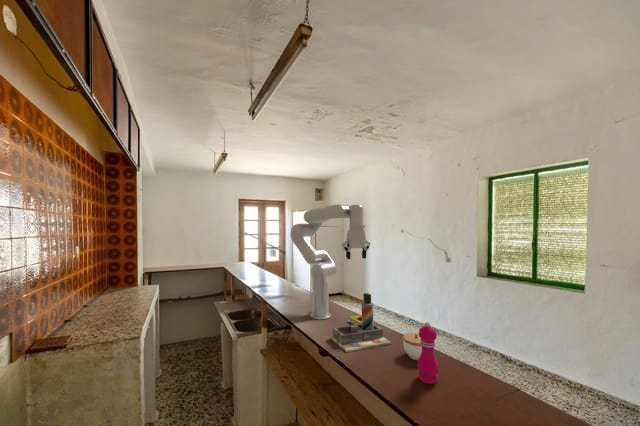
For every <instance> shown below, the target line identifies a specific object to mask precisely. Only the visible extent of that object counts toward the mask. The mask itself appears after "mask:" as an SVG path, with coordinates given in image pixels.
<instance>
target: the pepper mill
mask: <svg viewBox="0 0 640 426" xmlns="http://www.w3.org/2000/svg"><path fill="white" fill-rule="evenodd" d="M418 334H419V336H420V338H421V340H420V341H421V342H420V344H421V345H422V352H421V355H420V357H419V359H418V360H417V364H416V365H417V366H416V367H417V369H418V371H419V372H418V379H419V380H420V381H421V382H422V383H424V384H427V385H435V384H437V383H438V381H439V380H438V377H439V376H438V374H439V371H440V366H439V362H438V360H437V358H436V355H435V347H436V340H437V335H438V334H437V331H436V330H435V328H433V327H432V326H431V323H430V322H429V321H428V322H427V321H426V322H425V323H424V325H423V326H421V327H420V328H419V330H418Z"/></svg>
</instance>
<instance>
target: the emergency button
mask: <svg viewBox="0 0 640 426" xmlns="http://www.w3.org/2000/svg"><path fill="white" fill-rule="evenodd" d="M348 321H349V322H348ZM347 322H348V323H350V322H351V325H356V324H362V314H359V315H352V316H350V317H349V319H347ZM373 324H375V321H374V319H373Z"/></svg>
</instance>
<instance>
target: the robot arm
mask: <svg viewBox="0 0 640 426" xmlns="http://www.w3.org/2000/svg"><path fill="white" fill-rule="evenodd" d="M331 219H349V229H347V234H346V240H345V241H344V242H342V243H341V246H342V249H343V250H344V251H345V255H346V256H345V257H346V259H347V260H351V250H352V249H362V251H361V258H362V259H364V260H365V259H366V258H367V252H368V250H369V249H370V246H371V242H369V241H368V240H366V232H365V229H366V225H365V224H364V206H363V205H362V204H352V205H350V204H348V205H347V204H333V205H327V206H324V207H319V208H315V209H310V210H307V211H305V212H304V214H303V220H304V221H305V222H306V223H296V224H294V225H292V227H291V228H290V239H291V241H292V242H293V244H294V245H295V247H296V248H297V250H298V252H300V254H301V255H302V258H303V259H304V261H305V262H306V263H307V264H309V265H312V267H311V270H310V271H311V272H310V275H311V279H312V312H311V313H309V317H310V318H311V319H315V320H327V319H329V318H331V317H332V313H331V312H329V291H330V290H329V289H330V287H329V282H328V280H327V279H328V278H331V277H333V276H335V275H336V274H337V265H336V263H335V262H334V261H333V259H332V257H331V256H330V255H329V253H328V252H327V251H326V250H325V249H324V248H315V247H314V246H313V245H312V244H311V241H309V240H308V239H307V237H312V236H314V235H315V234H316V233H317V231H318V230H319V229H320V227H322V225H323V223H326V222H329V220H331ZM364 228H365V229H364Z"/></svg>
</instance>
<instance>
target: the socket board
mask: <svg viewBox="0 0 640 426" xmlns="http://www.w3.org/2000/svg"><path fill="white" fill-rule="evenodd" d="M373 325H374V330H369V331H364V330H362V324H356V325H354V324H350V325H349V324H348V325H343V326H337V327H332V335H331V336H330V339H331V340H332V341H333V342H334V343H336V345H338V346H339V347H340V348H341V349H342V350H343V351H345V353H347V354H348V353H353V352H357V351H361V350H366V349H367V350H368V349H374V348H377V347H383V346H388V345H391V344H392V342H391V340H389V339H387V338H386V337H384V332H383V331H384V330H383V328H381V327H380V326H378V325H376V324H375V323H374V324H373Z"/></svg>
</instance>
